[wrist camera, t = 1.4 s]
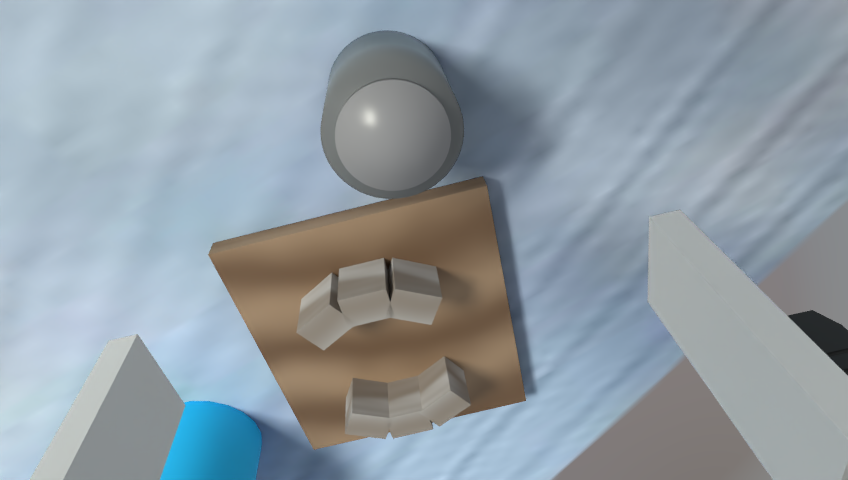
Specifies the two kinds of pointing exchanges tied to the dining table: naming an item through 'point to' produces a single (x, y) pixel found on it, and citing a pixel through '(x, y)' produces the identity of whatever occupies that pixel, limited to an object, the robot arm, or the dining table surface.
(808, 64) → the dining table surface
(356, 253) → the board
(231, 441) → the mug
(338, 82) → the cap
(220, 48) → the dining table surface
